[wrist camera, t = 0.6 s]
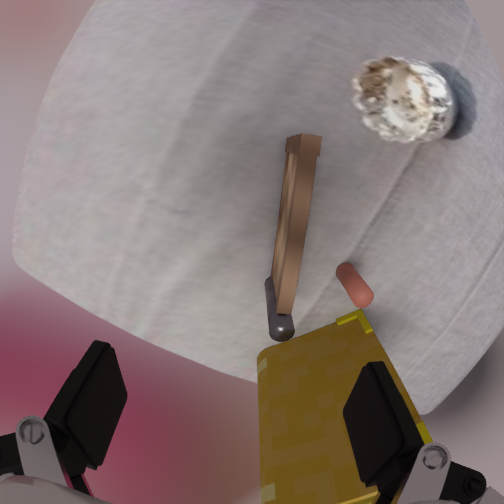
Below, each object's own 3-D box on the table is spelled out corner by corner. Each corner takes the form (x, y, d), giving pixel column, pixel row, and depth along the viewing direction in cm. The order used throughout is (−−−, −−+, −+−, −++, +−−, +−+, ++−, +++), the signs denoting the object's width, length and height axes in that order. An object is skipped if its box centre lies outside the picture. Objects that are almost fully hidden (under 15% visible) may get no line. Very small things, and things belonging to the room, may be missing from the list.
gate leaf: (286, 138, 29) (301, 133, 20) (301, 140, 29) (321, 136, 20) (269, 273, 34) (275, 315, 26) (282, 274, 34) (292, 316, 26)
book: (360, 308, 37) (441, 459, 13) (368, 341, 39) (433, 479, 15) (249, 351, 39) (249, 517, 16) (267, 379, 41) (275, 527, 18)
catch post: (338, 261, 34) (356, 287, 28) (355, 263, 34) (376, 288, 28) (334, 279, 35) (350, 307, 28) (351, 280, 35) (370, 308, 28)
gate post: (266, 274, 35) (271, 321, 25) (285, 276, 35) (296, 322, 25) (263, 291, 35) (267, 341, 26) (282, 293, 36) (292, 342, 26)
